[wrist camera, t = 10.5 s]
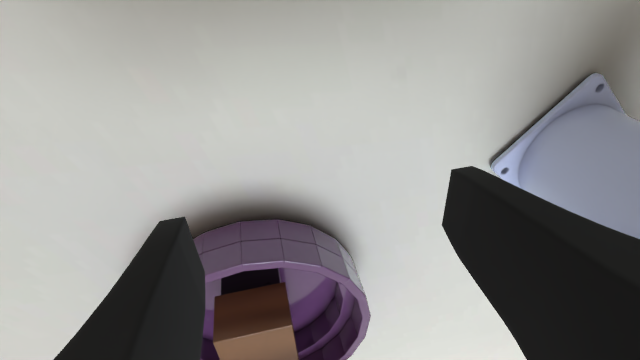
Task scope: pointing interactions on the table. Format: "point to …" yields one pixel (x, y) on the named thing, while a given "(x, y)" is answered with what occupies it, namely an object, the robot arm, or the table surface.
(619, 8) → the table surface
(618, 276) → the robot arm
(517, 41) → the table surface
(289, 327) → the tall brown wooden block
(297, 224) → the bowl
